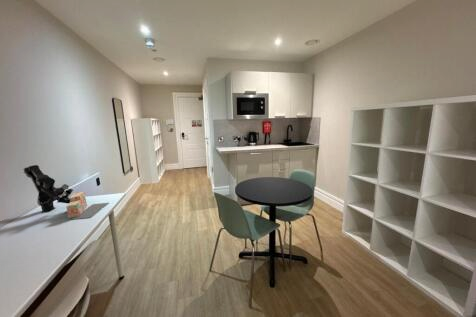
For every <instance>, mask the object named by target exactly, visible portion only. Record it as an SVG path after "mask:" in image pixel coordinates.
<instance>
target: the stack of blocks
mask: <svg viewBox="0 0 476 317" xmlns="http://www.w3.org/2000/svg"><path fill="white" fill-rule="evenodd" d="M86 198H87V197H86V195H85V191H78V192H74V193H73V194H72V195H71V196H69V199H70V203H69V204H68V203H67V205H66V211H67V216H68V219H72V218H74V217H78V216H80V214H81V213H82V212H83V211H84V210H85V209H87V208H86V207H87V206H88V203H87V199H86Z"/></svg>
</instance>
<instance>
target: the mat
mask: <svg viewBox="0 0 476 317" xmlns="http://www.w3.org/2000/svg"><path fill="white" fill-rule="evenodd" d="M109 204H110V202H103V203H101V202H100V203H93V204H91V205H90V206H88V207H87V208H85V209H84V210H83V212H82V213H81V214H80V216H78V217H73V218H71V221H72V220H73V221H74V220H82V219H83V220H84V219H92V218H93V217H94V216H95V215H96V214H98V213H99V212H100V211H102V210H103V209H104V208H105V207H106V206H108V205H109ZM102 208H103V209H102Z"/></svg>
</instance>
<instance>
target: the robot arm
mask: <svg viewBox="0 0 476 317" xmlns="http://www.w3.org/2000/svg"><path fill="white" fill-rule="evenodd" d="M23 170H24V172H23V174H24V173H25V174H24V175H26V177H27V178H30V179H31V181H32V183H33V185H34V187H35V189H36V191H37V193H38V195H37V201H36V202H37V205H38V206H40V208H41V211H40V213H49V212H51V211H53V210H55V209H56V208H57V207H55V206H54V202H55V201H57V202H56V203H61V204H67V205H68V204H69V203H70V195H71V194H72V193H73V191H74V189H72V188H69V185H68V184H67V183H65V184H63V185H62V186H61V187H55V183H56V179H54V178H52V177H50V176H49V175H48V174H44V173H43V172H42V170H41V168H40V166H39V165H38V164H34V165H29V166H28V167H24V168H23V169H22V171H23Z"/></svg>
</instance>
